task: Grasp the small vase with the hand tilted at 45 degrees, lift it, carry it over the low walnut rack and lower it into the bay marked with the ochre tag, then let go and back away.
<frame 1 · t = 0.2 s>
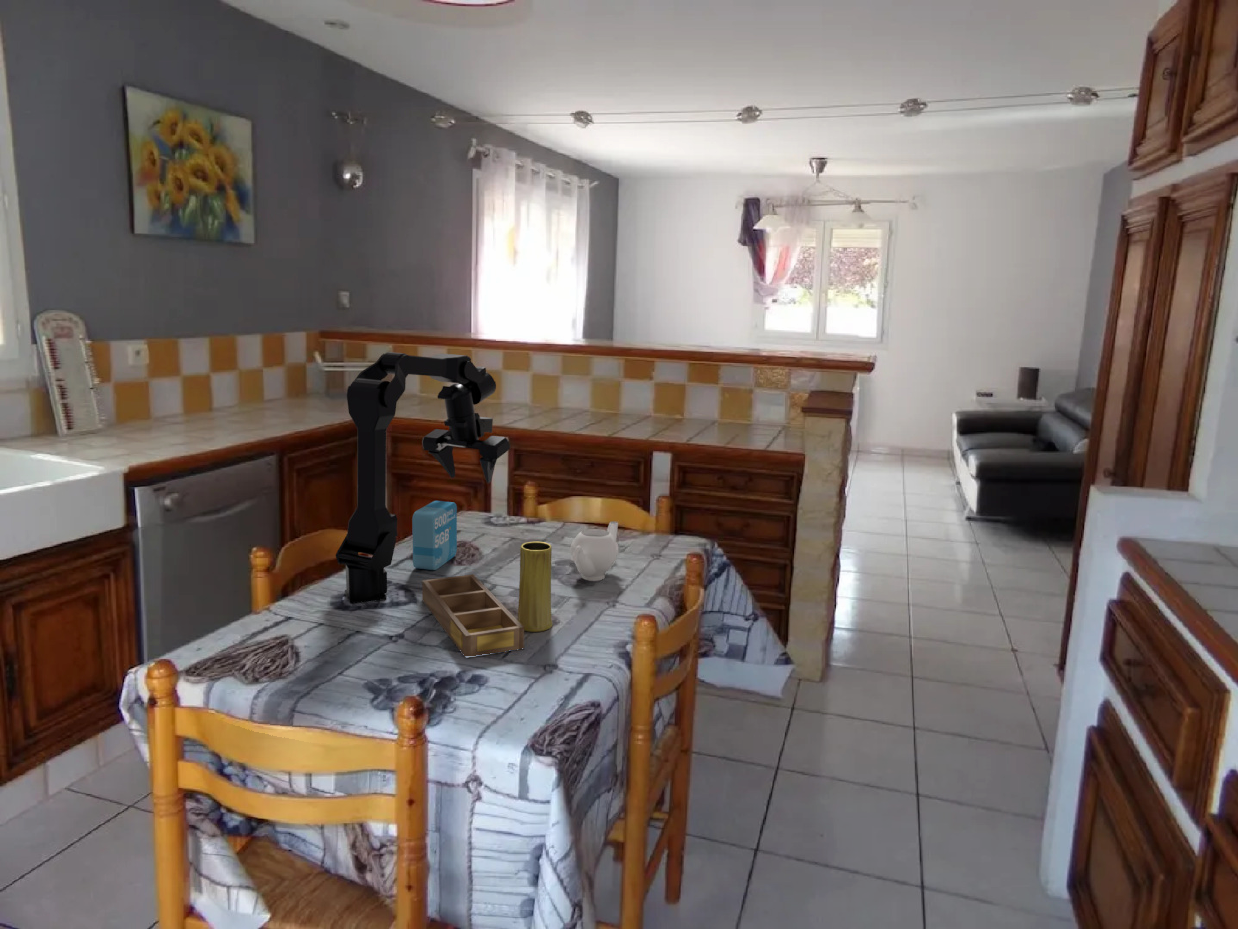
hand: (471, 479, 187), 15 cm above the table, tool pointing down, fingers open, 9 cm apart
vase: (534, 626, 149), on the table
rack: (469, 623, 149), on the table
data package: (435, 563, 180), on the table
teapot: (593, 578, 174), on the table
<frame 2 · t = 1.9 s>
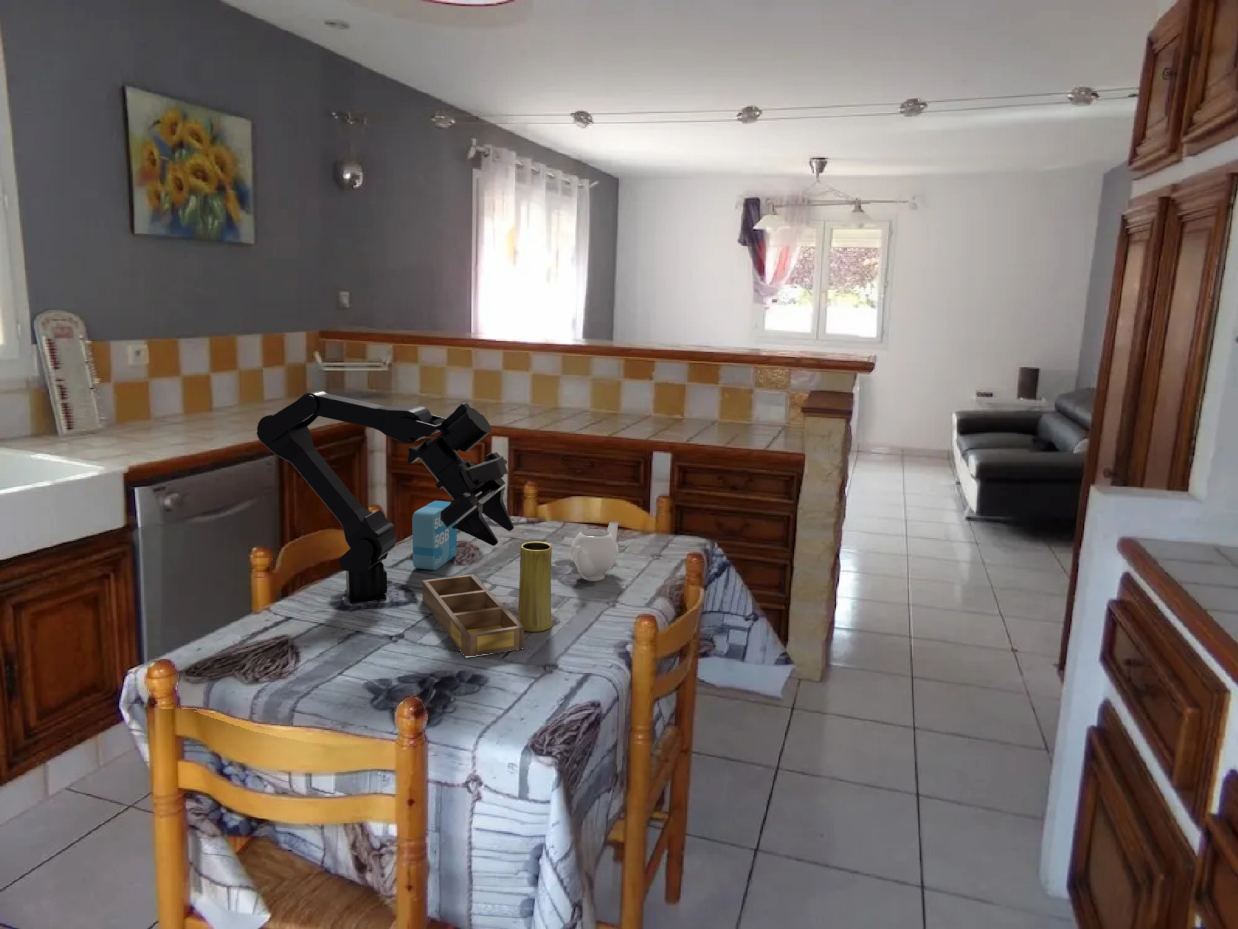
hand: (504, 536, 152), 14 cm above the table, tool tilted 40°, fingers open, 9 cm apart
nothing on the table moved.
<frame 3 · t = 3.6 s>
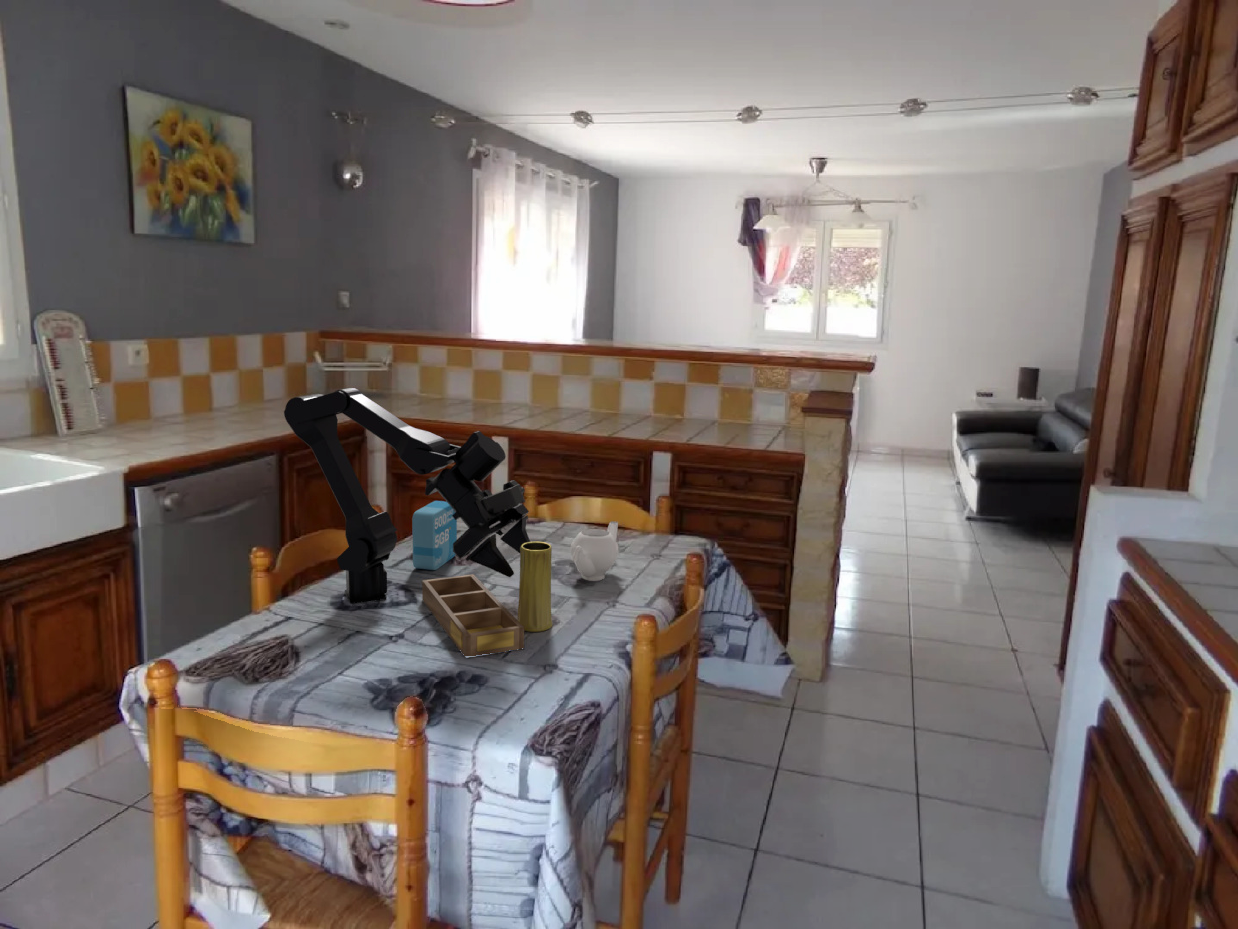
hand: (523, 567, 147), 10 cm above the table, tool tilted 45°, fingers open, 9 cm apart
nothing on the table moved.
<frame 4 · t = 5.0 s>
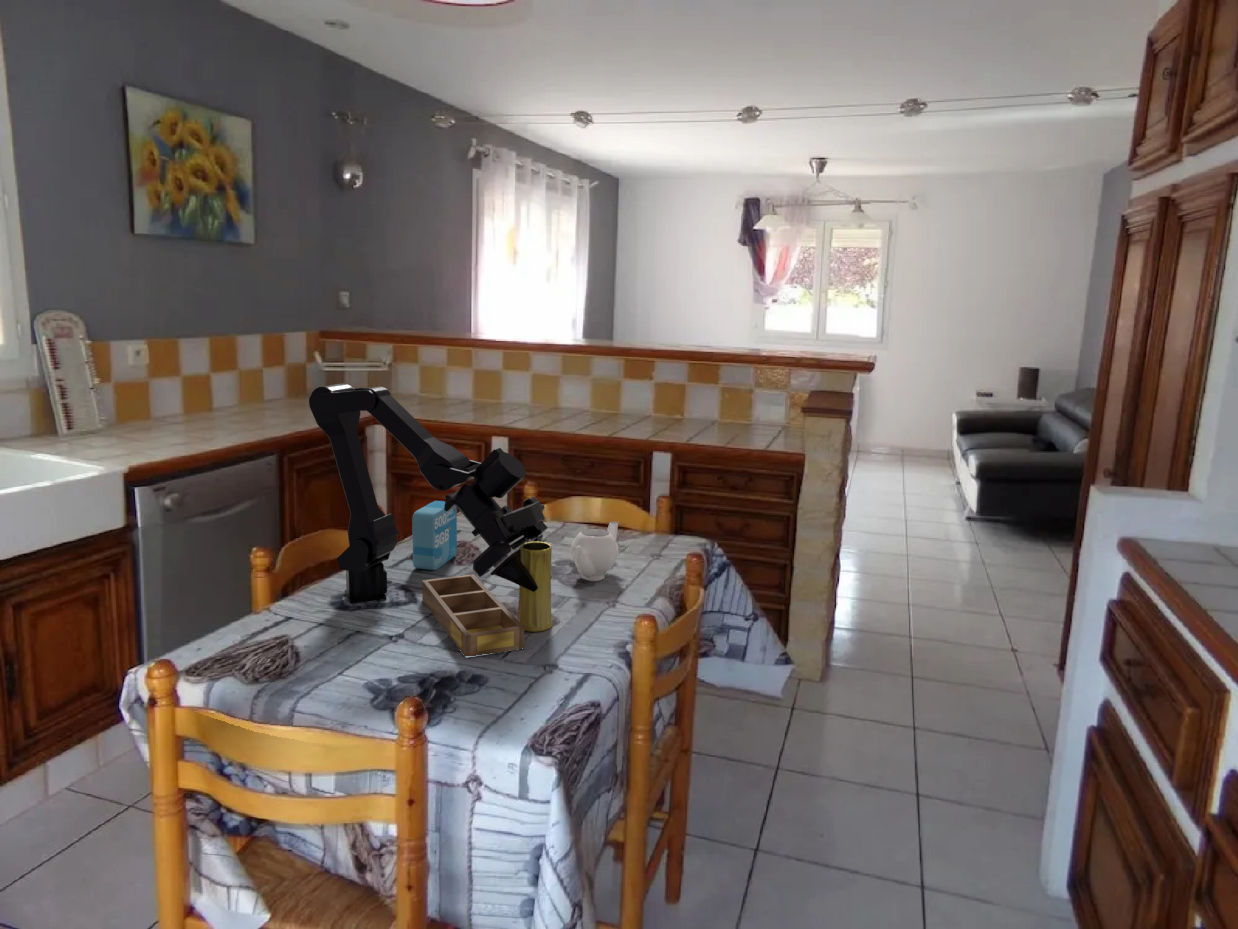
hand: (543, 584, 147), 8 cm above the table, tool tilted 45°, fingers closed on vase, 5 cm apart
vase: (534, 626, 149), on the table, touching gripper
everything else where it was.
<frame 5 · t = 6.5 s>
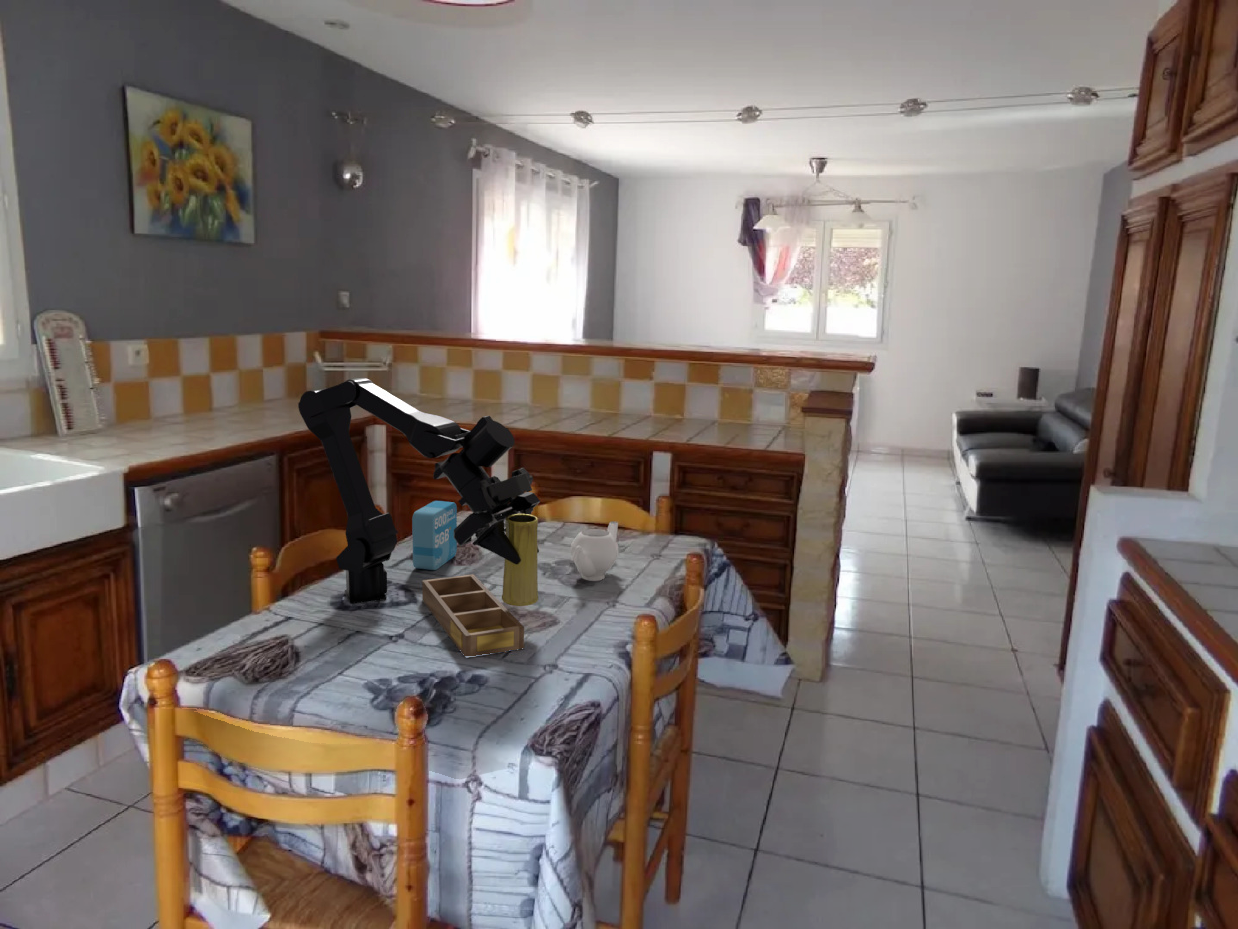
hand: (528, 558, 143), 13 cm above the table, tool tilted 45°, fingers closed on vase, 5 cm apart
vase: (520, 601, 145), point 5 cm above the table, touching gripper
everything else where it was.
when the fingers open (9 cm above the table, at t = 8.2 s): vase stays where it is, resting on rack.
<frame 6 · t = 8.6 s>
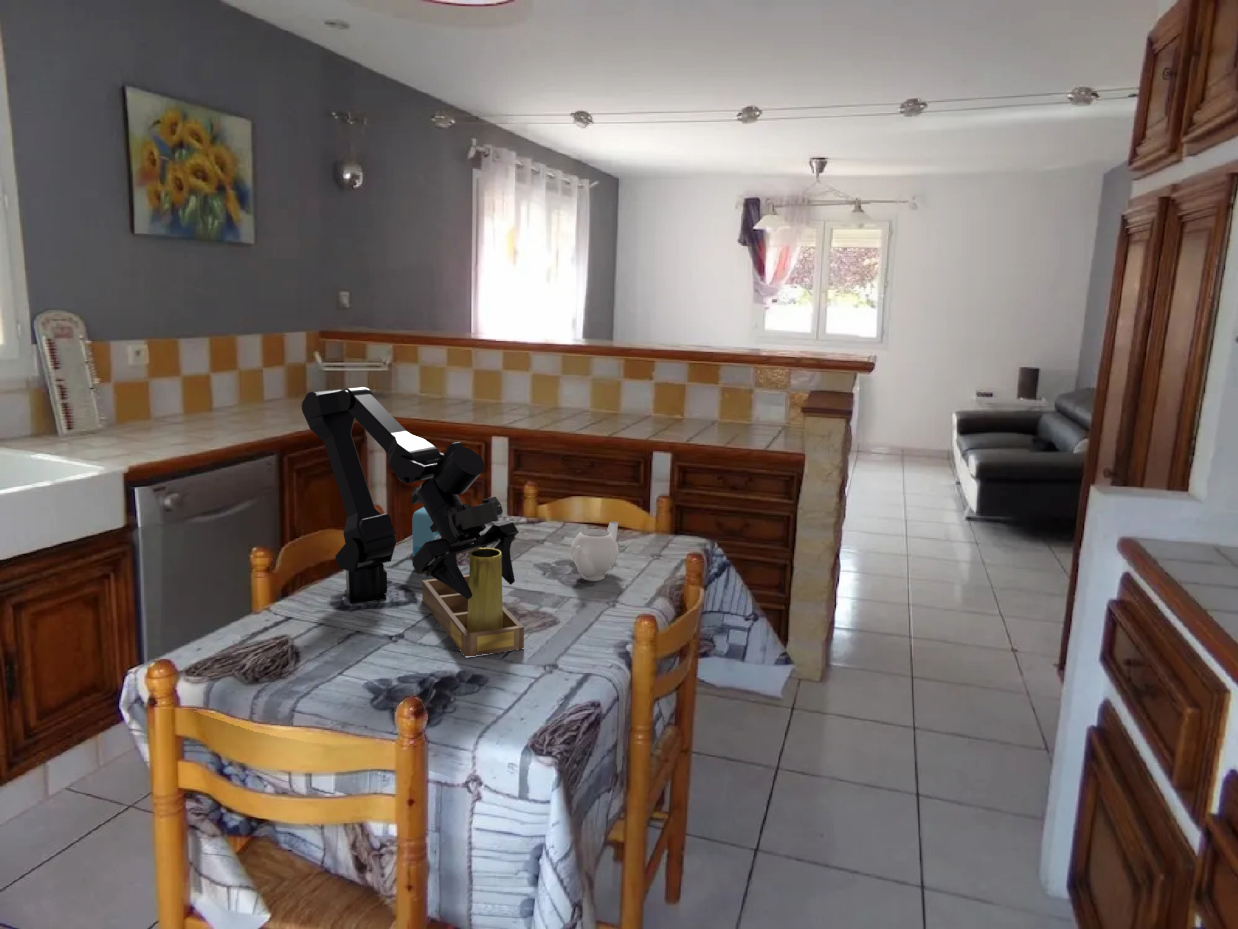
hand: (492, 590, 138), 9 cm above the table, tool tilted 45°, fingers open, 9 cm apart
vase: (485, 637, 141), point 1 cm above the table, touching rack
everything else where it was.
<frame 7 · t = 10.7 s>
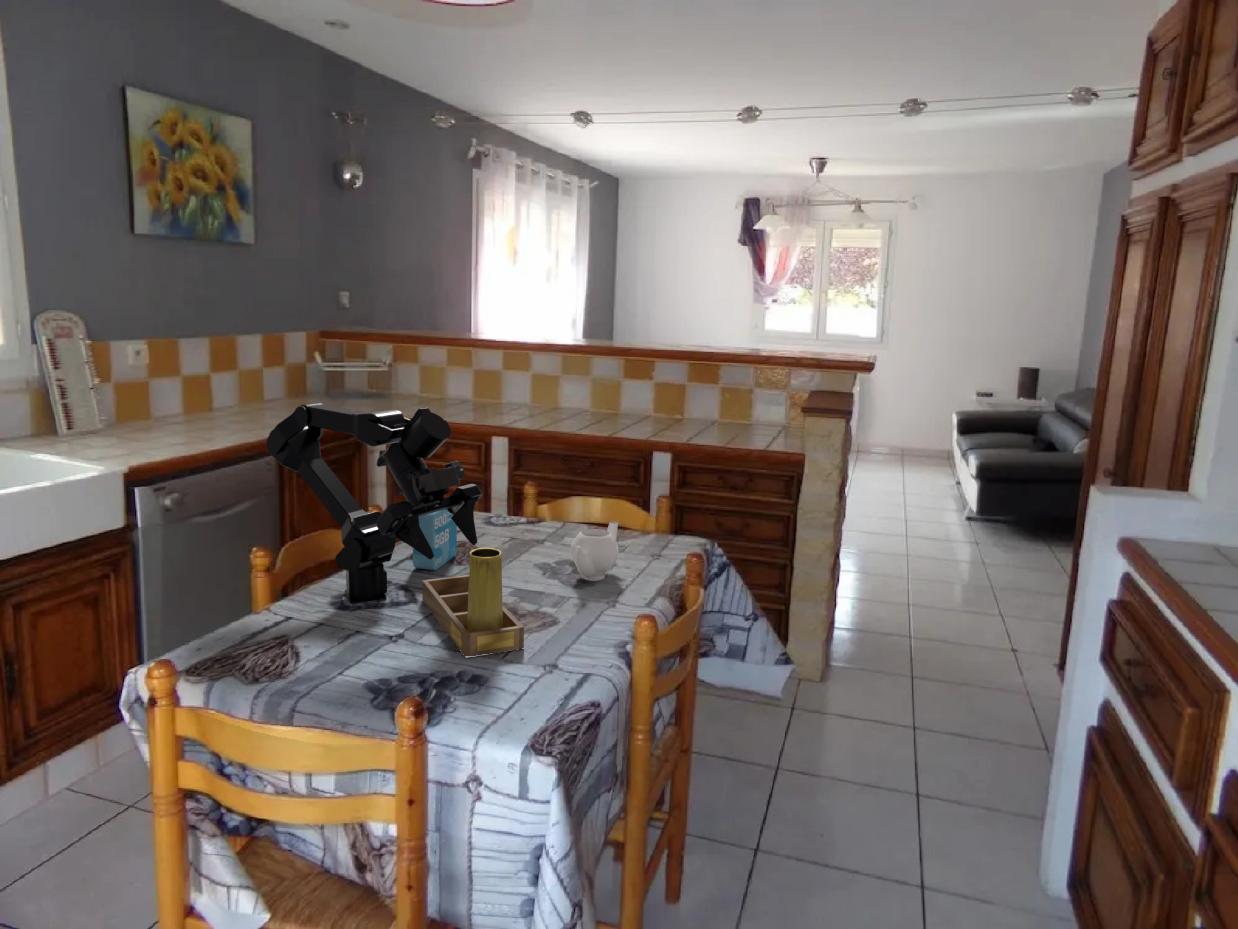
hand: (454, 550, 144), 14 cm above the table, tool tilted 45°, fingers open, 9 cm apart
nothing on the table moved.
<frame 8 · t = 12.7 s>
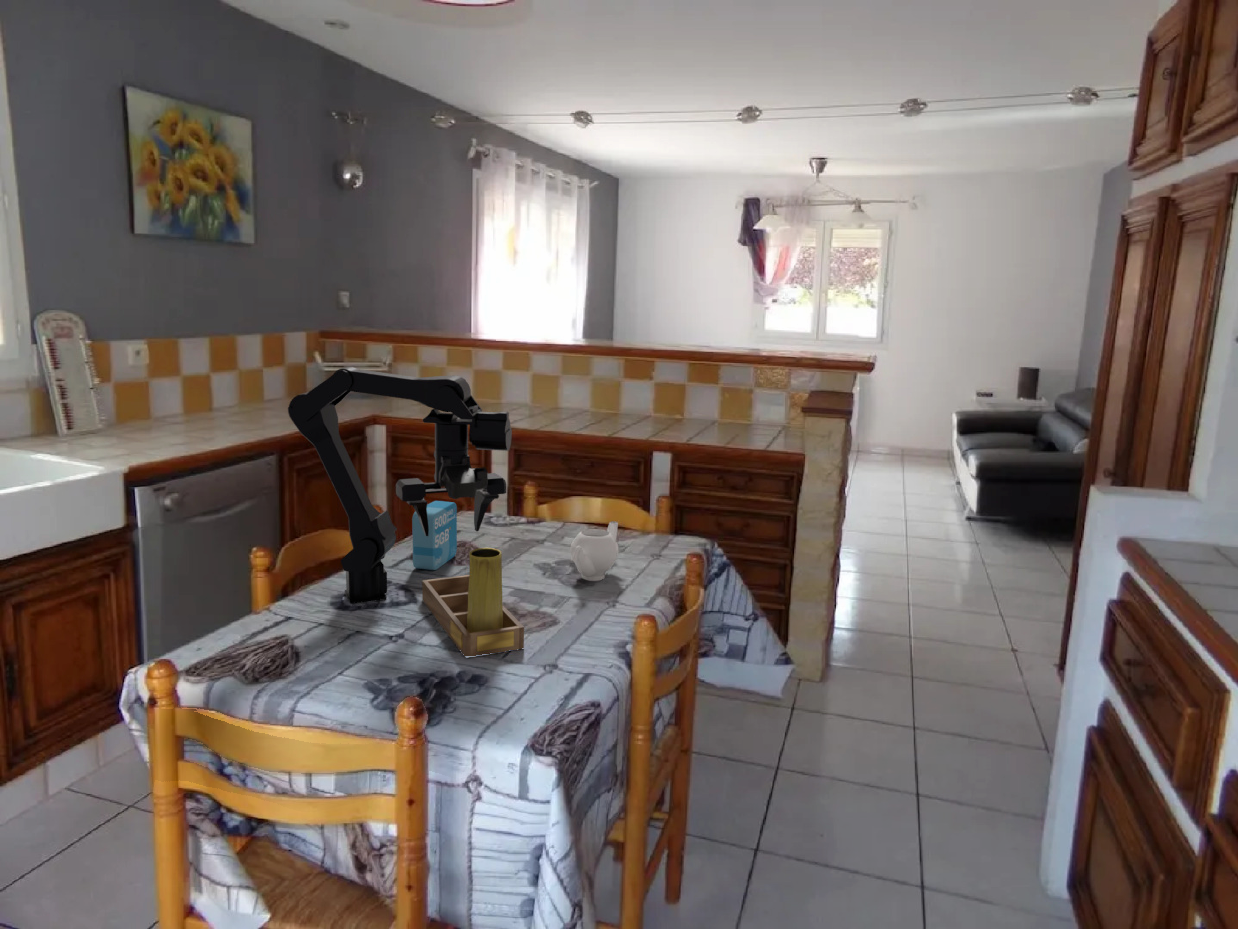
hand: (451, 533, 156), 13 cm above the table, tool pointing down, fingers open, 9 cm apart
nothing on the table moved.
at the end: vase 0.2 cm from the target spot on the rack, point 0.8 cm above the rack's base; vase tilted 0°; the gripper is holding nothing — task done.
